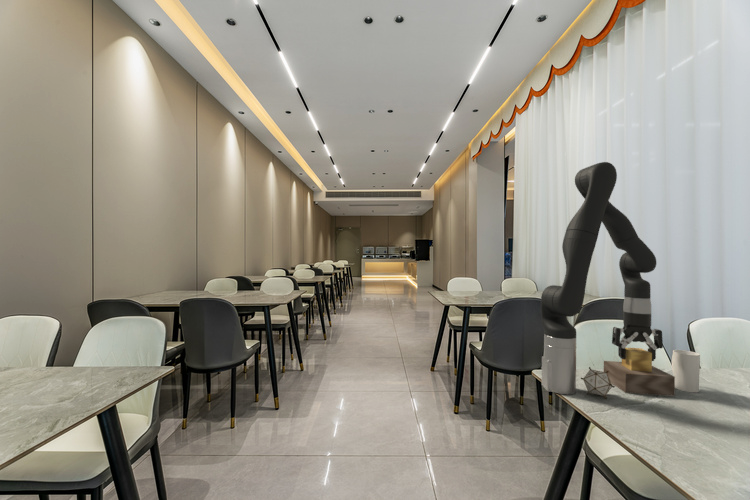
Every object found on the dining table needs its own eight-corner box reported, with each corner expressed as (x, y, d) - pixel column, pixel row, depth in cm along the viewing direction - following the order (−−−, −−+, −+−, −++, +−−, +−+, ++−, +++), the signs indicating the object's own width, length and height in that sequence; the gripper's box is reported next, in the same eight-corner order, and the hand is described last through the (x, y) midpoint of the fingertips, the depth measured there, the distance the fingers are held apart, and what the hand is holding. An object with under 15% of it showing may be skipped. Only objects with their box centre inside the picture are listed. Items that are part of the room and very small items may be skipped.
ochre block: (631, 370, 115) (631, 352, 115) (621, 364, 121) (621, 347, 121) (651, 371, 114) (651, 353, 114) (640, 366, 120) (641, 348, 120)
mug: (705, 394, 112) (705, 356, 112) (681, 392, 113) (681, 354, 113) (683, 382, 122) (683, 348, 122) (661, 381, 123) (661, 346, 123)
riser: (625, 392, 112) (625, 373, 112) (603, 377, 126) (603, 360, 126) (674, 396, 110) (674, 376, 110) (646, 380, 123) (646, 363, 124)
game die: (590, 405, 111) (573, 373, 116) (618, 398, 109) (600, 366, 115) (594, 400, 104) (576, 366, 109) (624, 392, 102) (605, 359, 108)
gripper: (620, 311, 115) (619, 361, 115) (668, 313, 113) (668, 364, 113) (608, 308, 123) (608, 355, 122) (653, 310, 121) (653, 357, 120)
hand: (636, 359), depth 118 cm, fingers open, 8 cm apart
